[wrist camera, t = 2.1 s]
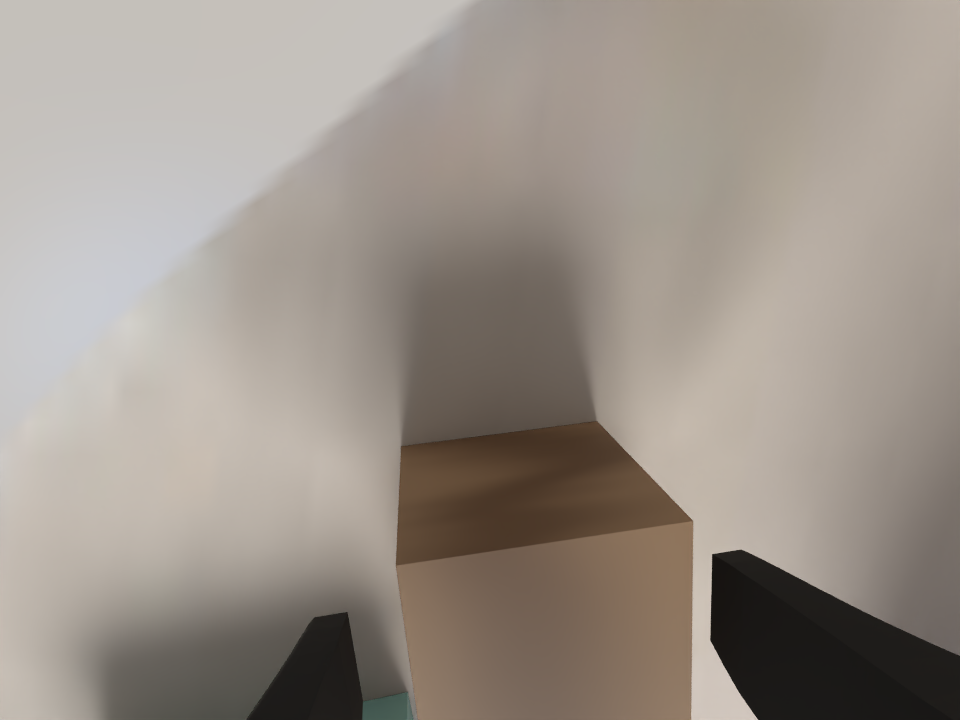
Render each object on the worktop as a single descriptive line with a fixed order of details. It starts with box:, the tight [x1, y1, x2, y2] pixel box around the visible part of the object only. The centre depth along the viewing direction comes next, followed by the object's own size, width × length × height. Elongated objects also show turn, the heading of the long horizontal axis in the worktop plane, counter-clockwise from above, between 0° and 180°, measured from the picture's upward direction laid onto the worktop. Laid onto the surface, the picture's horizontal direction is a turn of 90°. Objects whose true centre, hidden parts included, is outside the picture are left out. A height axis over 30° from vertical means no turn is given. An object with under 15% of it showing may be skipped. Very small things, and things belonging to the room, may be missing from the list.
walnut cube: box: [396, 421, 693, 720], centre depth 12 cm, size 5×5×5 cm
